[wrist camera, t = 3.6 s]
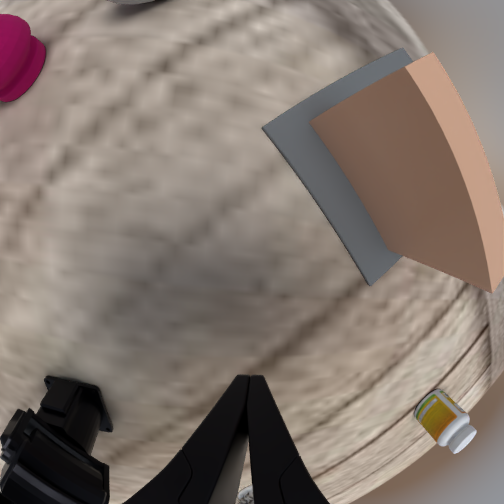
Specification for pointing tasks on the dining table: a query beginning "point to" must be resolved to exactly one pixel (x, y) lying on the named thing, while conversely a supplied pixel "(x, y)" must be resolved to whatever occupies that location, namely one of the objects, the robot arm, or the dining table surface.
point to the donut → (129, 1)
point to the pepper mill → (18, 57)
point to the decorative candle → (246, 495)
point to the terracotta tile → (421, 171)
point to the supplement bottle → (445, 421)
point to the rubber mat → (336, 166)
